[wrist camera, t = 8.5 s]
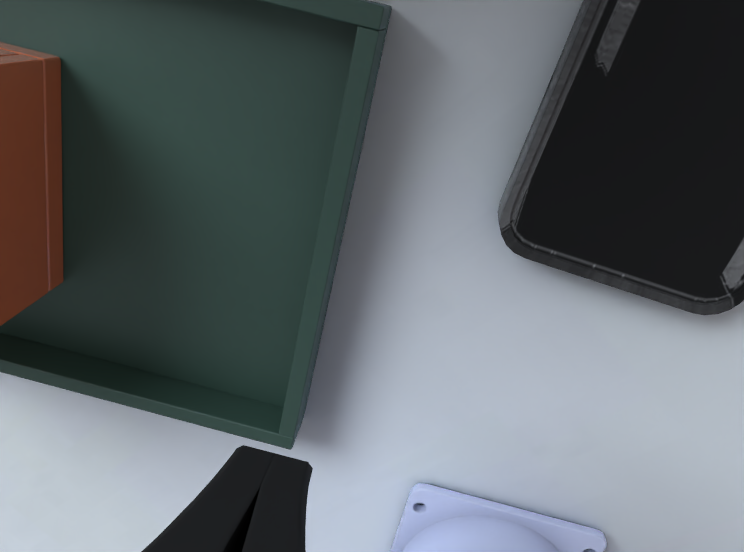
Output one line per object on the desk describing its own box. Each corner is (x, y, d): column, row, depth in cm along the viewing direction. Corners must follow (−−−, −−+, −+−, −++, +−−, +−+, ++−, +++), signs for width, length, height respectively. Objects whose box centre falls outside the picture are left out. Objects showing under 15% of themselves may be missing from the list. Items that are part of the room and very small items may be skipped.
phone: (1145, -302, 12) (729, 325, 18) (1090, -277, 13) (714, 308, 19) (766, -430, 11) (485, 245, 18) (740, -394, 12) (483, 232, 19)
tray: (303, 417, 23) (291, 450, 22) (-190, 286, 24) (-240, 308, 22) (392, 6, 17) (384, 6, 15) (-292, -163, 17) (-375, -182, 16)
